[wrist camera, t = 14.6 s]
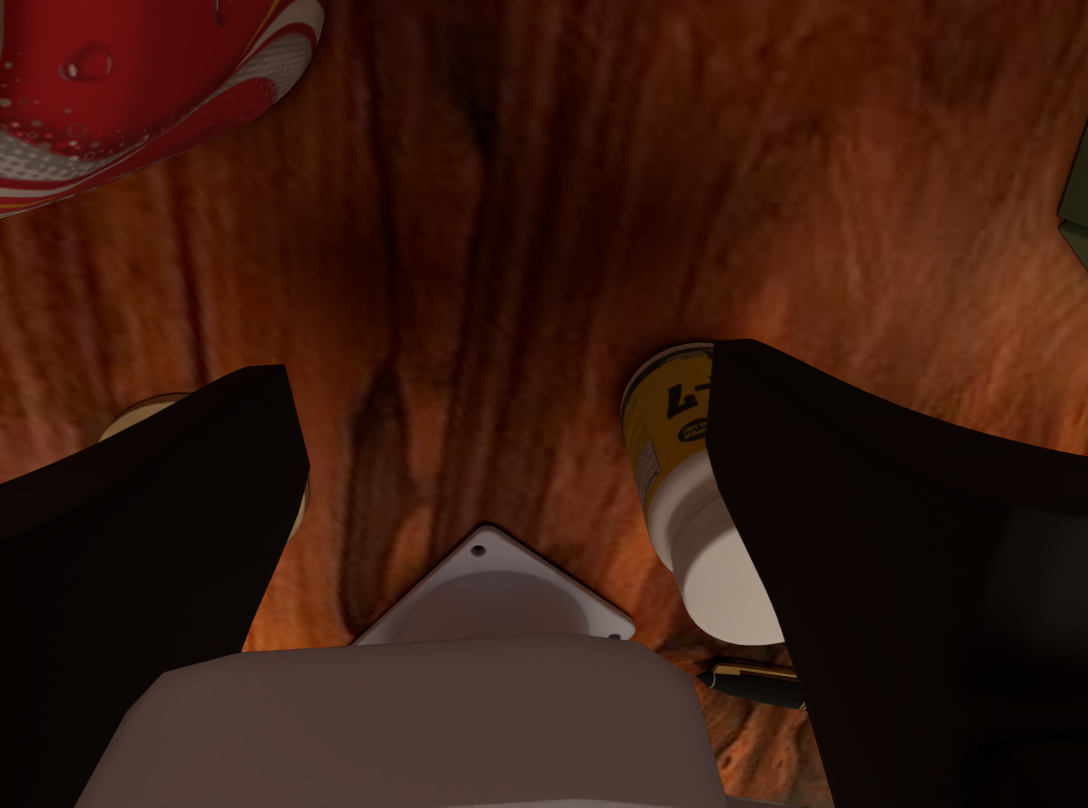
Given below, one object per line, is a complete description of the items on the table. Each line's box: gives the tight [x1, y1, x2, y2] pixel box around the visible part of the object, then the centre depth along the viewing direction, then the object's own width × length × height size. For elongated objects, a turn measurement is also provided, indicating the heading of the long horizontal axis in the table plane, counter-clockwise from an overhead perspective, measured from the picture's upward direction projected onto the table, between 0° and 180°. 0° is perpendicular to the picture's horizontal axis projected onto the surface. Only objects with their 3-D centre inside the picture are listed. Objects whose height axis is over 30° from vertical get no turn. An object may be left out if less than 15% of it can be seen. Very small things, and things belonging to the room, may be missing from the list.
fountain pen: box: [696, 663, 807, 711], centre depth 30 cm, size 14×1×2 cm
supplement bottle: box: [620, 343, 785, 645], centre depth 19 cm, size 5×5×8 cm
